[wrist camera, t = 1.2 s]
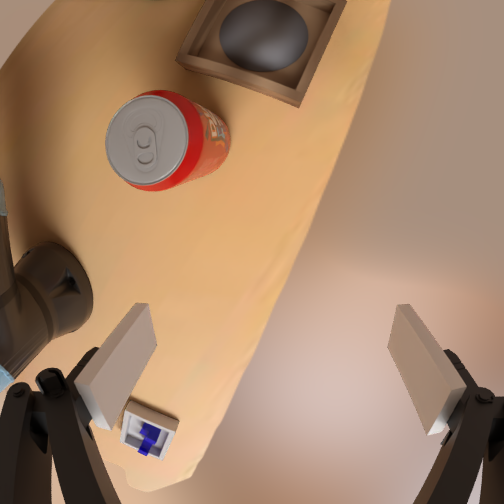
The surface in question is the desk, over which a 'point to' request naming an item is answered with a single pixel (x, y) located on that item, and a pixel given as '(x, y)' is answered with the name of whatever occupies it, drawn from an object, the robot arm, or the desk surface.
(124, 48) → the desk surface
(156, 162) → the soda can
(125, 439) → the grey desk tray
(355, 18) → the desk surface
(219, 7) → the walnut box
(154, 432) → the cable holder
